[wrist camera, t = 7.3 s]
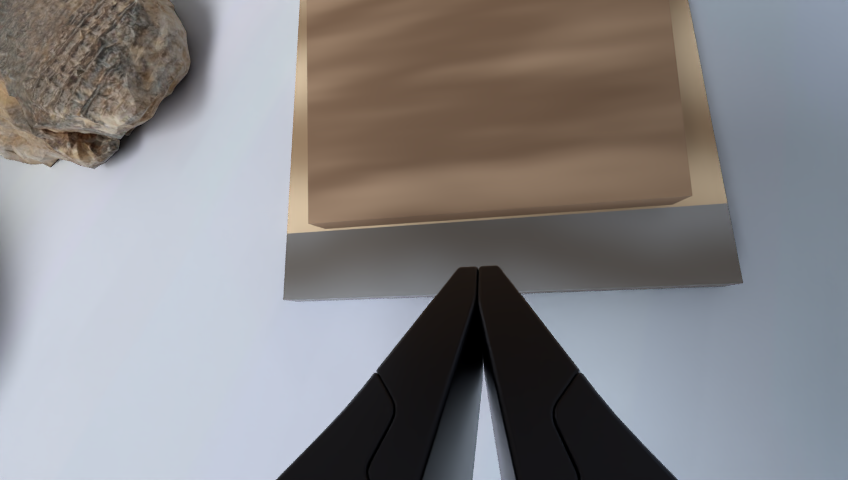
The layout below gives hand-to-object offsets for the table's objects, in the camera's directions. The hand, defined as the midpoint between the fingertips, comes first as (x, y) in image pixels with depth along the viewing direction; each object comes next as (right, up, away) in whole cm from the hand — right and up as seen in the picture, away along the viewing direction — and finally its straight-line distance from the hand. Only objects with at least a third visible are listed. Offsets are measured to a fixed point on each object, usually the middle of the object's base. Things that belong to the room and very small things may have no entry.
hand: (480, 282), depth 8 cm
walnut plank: (+1, +2, +8) cm, 8 cm away
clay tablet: (-23, +11, +17) cm, 31 cm away
